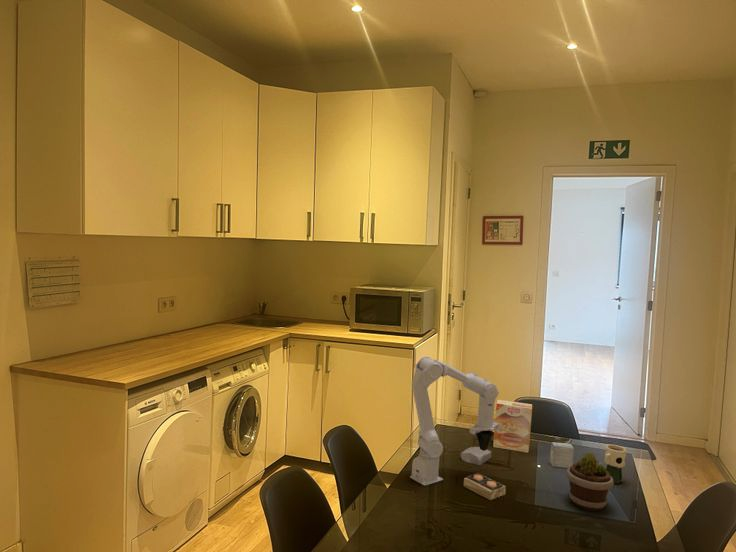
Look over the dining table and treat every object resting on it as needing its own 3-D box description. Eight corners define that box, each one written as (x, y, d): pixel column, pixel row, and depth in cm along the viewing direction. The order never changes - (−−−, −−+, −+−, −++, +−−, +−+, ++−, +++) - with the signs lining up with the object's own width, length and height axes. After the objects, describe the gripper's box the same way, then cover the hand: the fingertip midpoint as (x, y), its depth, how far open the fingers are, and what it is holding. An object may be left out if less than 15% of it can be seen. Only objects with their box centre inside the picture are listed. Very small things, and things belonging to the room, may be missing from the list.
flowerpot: (571, 489, 190) (576, 435, 189) (616, 504, 181) (621, 447, 180) (557, 503, 179) (562, 445, 178) (604, 519, 169) (610, 459, 168)
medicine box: (569, 464, 214) (571, 443, 214) (572, 468, 210) (574, 447, 209) (549, 462, 215) (551, 441, 214) (552, 466, 210) (553, 445, 210)
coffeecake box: (492, 447, 228) (496, 403, 227) (493, 441, 235) (497, 398, 234) (528, 453, 224) (532, 408, 223) (528, 447, 231) (532, 403, 230)
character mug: (612, 487, 194) (615, 453, 194) (595, 479, 201) (598, 446, 200) (630, 482, 200) (633, 449, 199) (613, 475, 206) (616, 442, 205)
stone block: (458, 464, 212) (481, 466, 206) (457, 452, 212) (480, 453, 207) (471, 457, 221) (493, 459, 216) (470, 445, 222) (492, 447, 216)
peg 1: (478, 488, 185) (478, 479, 185) (471, 485, 188) (471, 475, 187) (484, 486, 187) (484, 477, 187) (477, 483, 190) (477, 473, 189)
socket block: (490, 500, 178) (490, 489, 178) (463, 486, 187) (464, 476, 187) (505, 494, 183) (505, 484, 183) (478, 481, 192) (479, 471, 192)
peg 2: (491, 495, 180) (492, 485, 180) (484, 491, 183) (485, 482, 183) (497, 493, 182) (498, 483, 182) (490, 489, 185) (490, 480, 185)
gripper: (481, 420, 189) (478, 457, 190) (506, 414, 198) (503, 449, 198) (466, 414, 194) (463, 450, 195) (491, 409, 203) (489, 443, 204)
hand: (483, 449), depth 197 cm, fingers closed
